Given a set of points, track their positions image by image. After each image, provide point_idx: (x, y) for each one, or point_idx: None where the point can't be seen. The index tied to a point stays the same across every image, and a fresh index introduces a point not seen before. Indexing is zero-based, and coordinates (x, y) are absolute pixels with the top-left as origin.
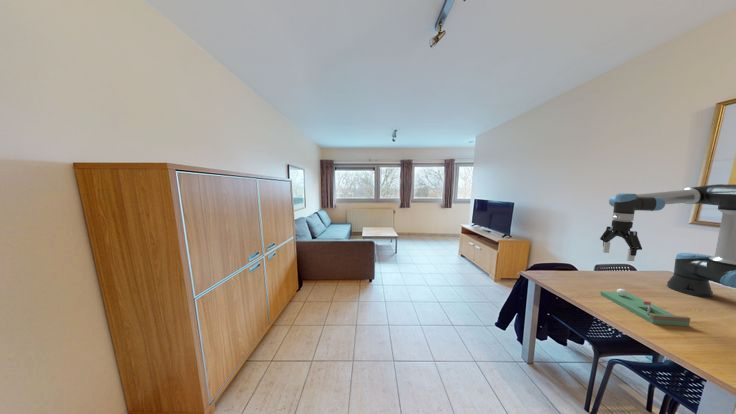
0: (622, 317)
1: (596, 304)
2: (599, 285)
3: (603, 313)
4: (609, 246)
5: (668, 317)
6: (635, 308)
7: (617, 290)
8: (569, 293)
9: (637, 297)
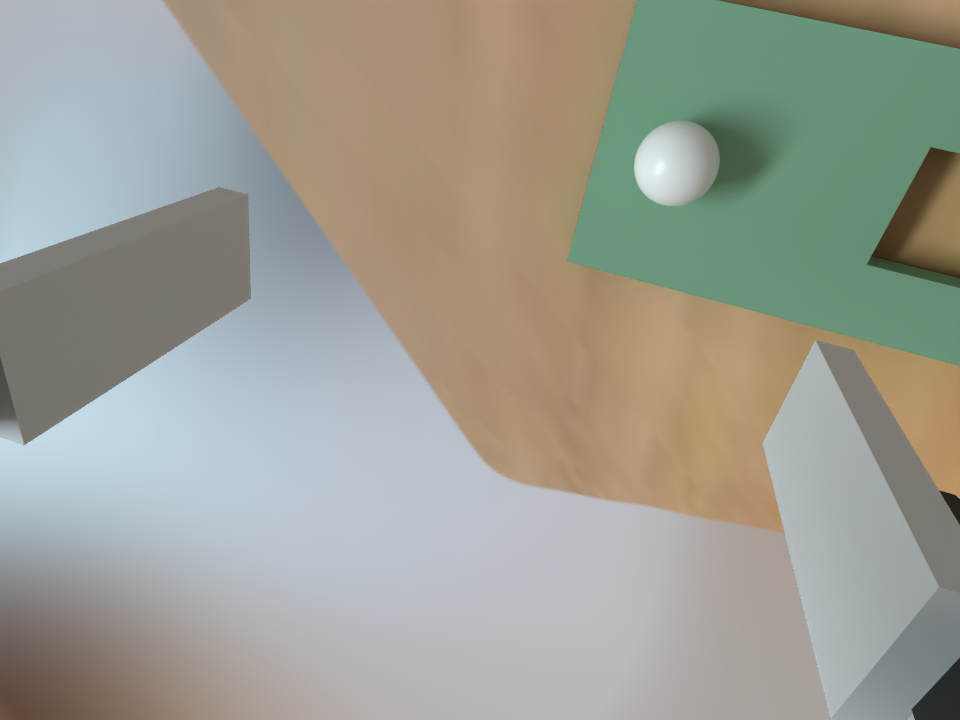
0: None
1: (692, 441)
2: (395, 25)
3: None
4: (116, 252)
5: None
6: (881, 317)
7: (652, 200)
8: (523, 453)
9: (746, 15)
